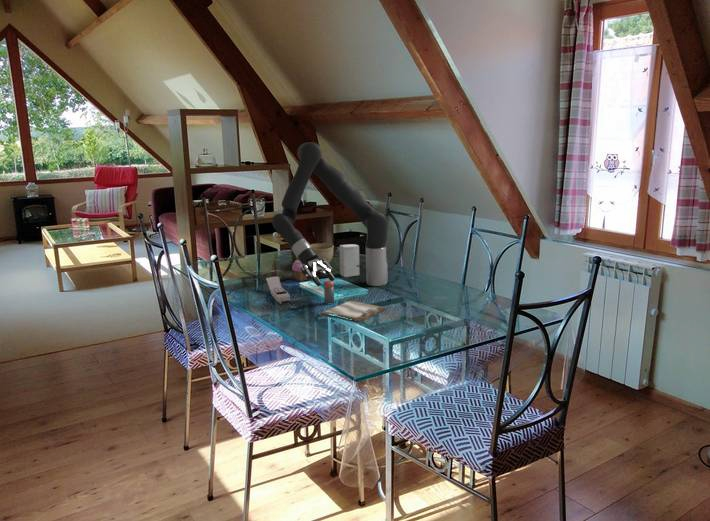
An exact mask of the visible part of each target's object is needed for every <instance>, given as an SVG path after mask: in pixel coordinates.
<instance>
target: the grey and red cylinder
mask: <svg viewBox="0 0 710 521" xmlns="http://www.w3.org/2000/svg"><path fill="white" fill-rule="evenodd" d="M334 283H335V282H334V280H333V281H330V280H325V281H323V293H324V304H325V303H334V304H335V284H334Z"/></svg>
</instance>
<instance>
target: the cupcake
mask: <svg viewBox="0 0 710 521" xmlns="http://www.w3.org/2000/svg"><path fill="white" fill-rule="evenodd" d="M302 266H303V265H302V264H301V262H300V261H299V259H298V260H297V259H296V260H295V261H294V262H293V264H292V266H291V269H292V271H293V272H294V274H295V278H296V280H297V281H299V282H304V280H305V281H308V280H309V279H307V278H306V277H305V275H304V274H303V272H302V271H301V269H300V268H301V267H302ZM307 275H308V273H307Z"/></svg>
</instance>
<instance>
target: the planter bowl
mask: <svg viewBox="0 0 710 521" xmlns="http://www.w3.org/2000/svg"><path fill="white" fill-rule="evenodd" d="M309 244H310V243H309ZM310 245H311V247H312V248H313V249H314V251H315V252H316V253H317V255H318V259H319V260H320V261H321V260H323V258H324V259H326V261H327V262H328V263H329V264H330V263H331V261H332V259H333V256H334V247H335V245H333V244H331V243H311V244H310ZM327 268H329V267H328V266H327ZM322 269H323V267H322Z"/></svg>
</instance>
